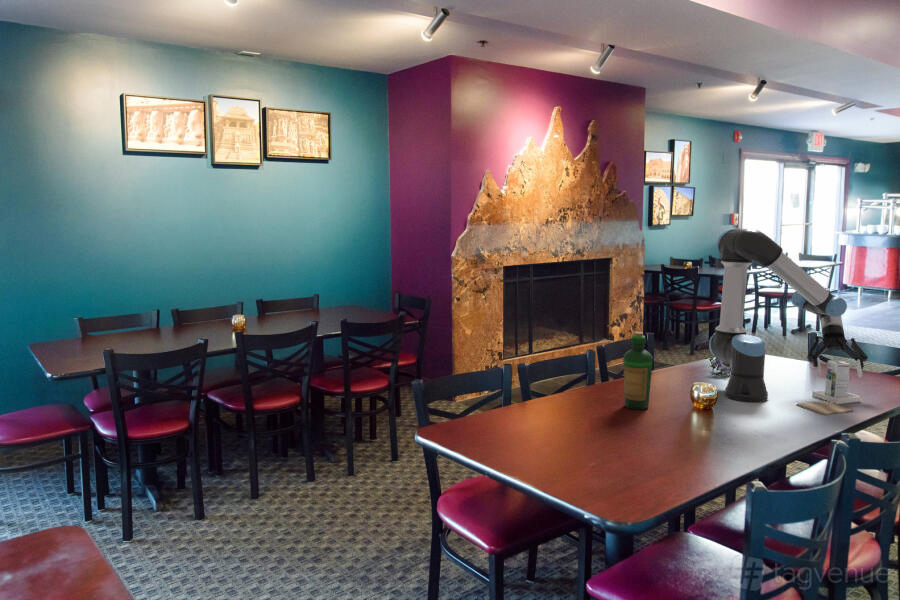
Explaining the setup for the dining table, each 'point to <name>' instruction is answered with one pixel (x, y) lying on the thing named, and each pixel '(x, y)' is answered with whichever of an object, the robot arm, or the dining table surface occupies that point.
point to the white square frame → (848, 399)
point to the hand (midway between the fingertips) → (839, 375)
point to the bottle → (637, 374)
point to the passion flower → (720, 366)
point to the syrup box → (837, 379)
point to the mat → (825, 407)
